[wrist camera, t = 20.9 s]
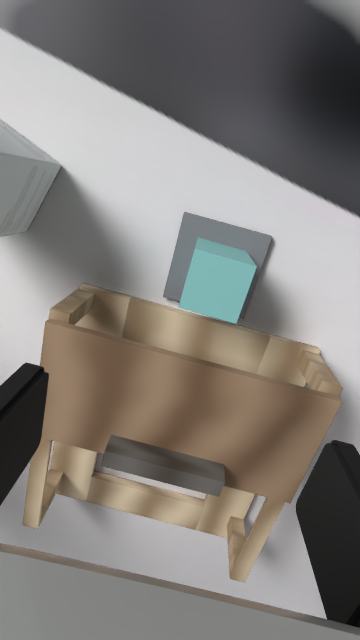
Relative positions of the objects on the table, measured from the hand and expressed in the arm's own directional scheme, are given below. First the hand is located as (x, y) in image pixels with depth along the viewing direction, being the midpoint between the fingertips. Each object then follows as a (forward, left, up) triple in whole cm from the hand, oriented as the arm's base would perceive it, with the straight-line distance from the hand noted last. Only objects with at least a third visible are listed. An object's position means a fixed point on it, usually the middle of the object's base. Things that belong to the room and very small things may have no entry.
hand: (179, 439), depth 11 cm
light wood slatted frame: (+1, -17, -23) cm, 28 cm away
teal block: (+1, +2, -22) cm, 22 cm away
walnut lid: (+1, -10, -15) cm, 18 cm away
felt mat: (+1, +2, -23) cm, 23 cm away
